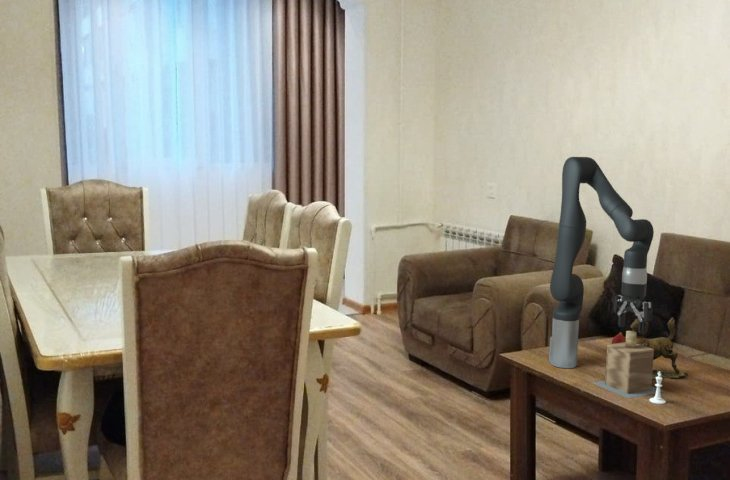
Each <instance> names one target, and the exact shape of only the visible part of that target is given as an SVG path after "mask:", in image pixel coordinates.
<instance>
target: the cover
mask: <svg viewBox="0 0 730 480" xmlns="http://www.w3.org/2000/svg"><path fill="white" fill-rule="evenodd" d="M636 334H637V332H635V331H632V330H626V331H625V338H626V342H623V343H616V344H612V343H610V344H607V345H606V361H605V362H606V363H605V379H604V381H605V385H608V386H610V387H612V388H615V389H617V390H620V391H622V392H625V393H627V394H630V393H636V392H641V391H647V390H651V386H652V385H653V384H652V383H653V379H652V372H653V370H654V368H653V367H654V360H653V357H654V349H652V348H649V347H646V346H643V345H640V344H636Z"/></svg>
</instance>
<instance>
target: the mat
mask: <svg viewBox="0 0 730 480" xmlns="http://www.w3.org/2000/svg"><path fill="white" fill-rule="evenodd" d="M592 384H593V385H596V386H597V387H600V388H603V389H606V390H608V391H610V392H612V393H615V394H618V395H620V396H622V397H624V398H626V399H627V398H628V399H631V398H637V397H642V396H646V395H653V394H656V389H657V387H656V386H651V390H647V391H641V392H636V393H630V394H627V393H625V392H622V391H620V390H617V389H615V388H612V387H610V386H608V385H605V380H603V381H597V382H592ZM663 392H665V390H663V389H660V393H663Z"/></svg>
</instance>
